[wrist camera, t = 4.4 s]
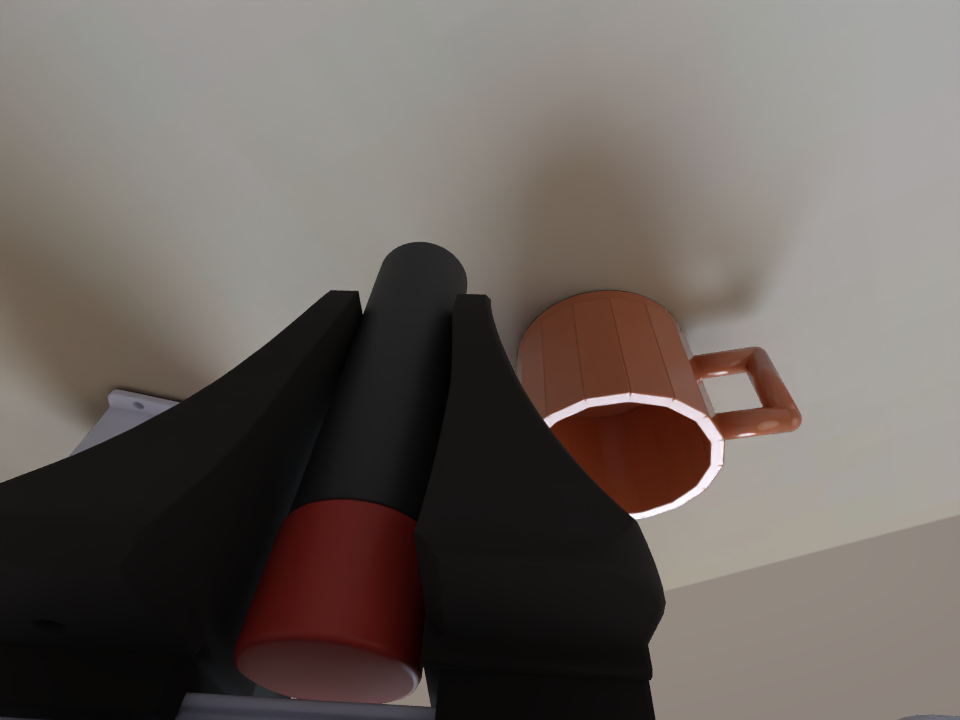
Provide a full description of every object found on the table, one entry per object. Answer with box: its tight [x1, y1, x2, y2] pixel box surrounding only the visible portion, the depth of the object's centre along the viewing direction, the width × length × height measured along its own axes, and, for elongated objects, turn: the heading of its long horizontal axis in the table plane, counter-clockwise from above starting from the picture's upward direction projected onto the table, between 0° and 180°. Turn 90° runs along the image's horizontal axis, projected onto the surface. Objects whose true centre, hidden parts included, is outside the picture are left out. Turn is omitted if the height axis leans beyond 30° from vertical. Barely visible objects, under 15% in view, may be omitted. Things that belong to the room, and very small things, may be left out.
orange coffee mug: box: [516, 291, 802, 519], centre depth 21 cm, size 10×7×6 cm
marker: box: [233, 242, 467, 704], centre depth 10 cm, size 2×2×9 cm
